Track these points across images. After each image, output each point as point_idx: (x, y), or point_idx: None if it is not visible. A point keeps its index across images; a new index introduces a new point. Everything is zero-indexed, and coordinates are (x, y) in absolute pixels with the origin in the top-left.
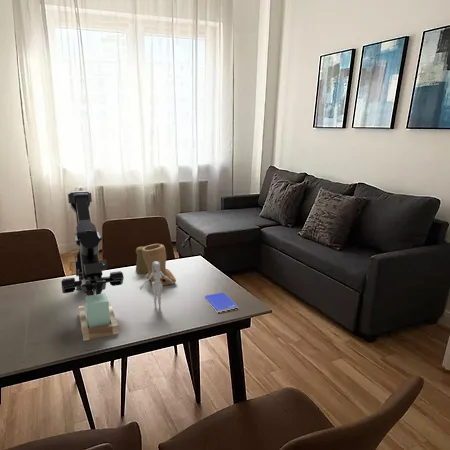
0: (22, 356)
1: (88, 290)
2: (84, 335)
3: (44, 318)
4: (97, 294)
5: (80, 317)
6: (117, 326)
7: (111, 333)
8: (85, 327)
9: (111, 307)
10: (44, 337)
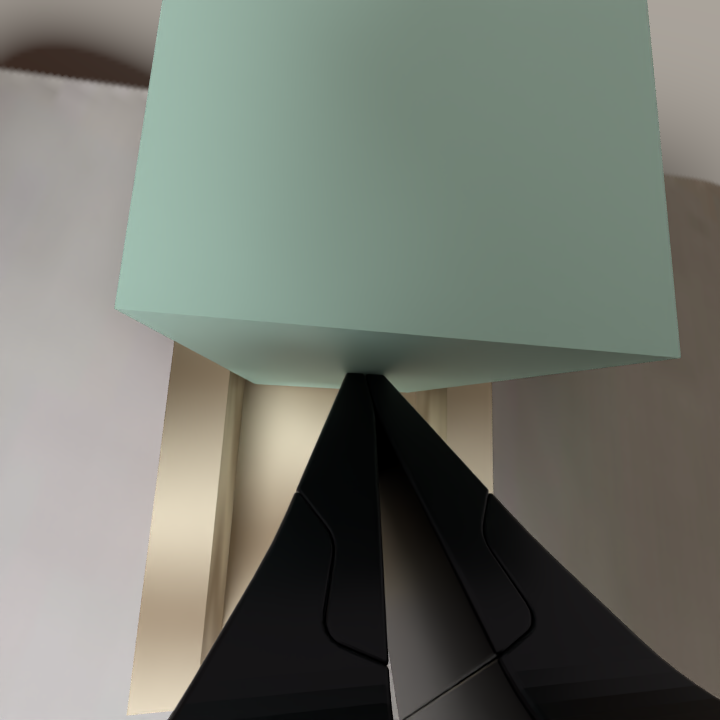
0: (705, 268)
1: (654, 681)
2: None
3: None
4: (393, 314)
5: (489, 413)
6: None
7: None
8: None
9: (157, 511)
10: (635, 405)
